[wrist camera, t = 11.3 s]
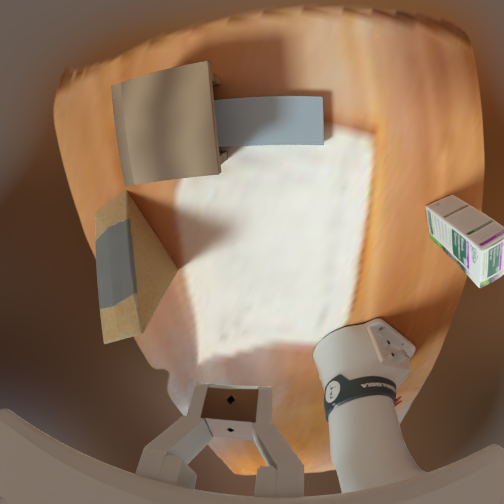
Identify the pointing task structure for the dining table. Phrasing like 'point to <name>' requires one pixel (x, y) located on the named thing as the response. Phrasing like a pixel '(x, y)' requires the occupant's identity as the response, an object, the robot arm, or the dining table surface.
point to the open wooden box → (167, 125)
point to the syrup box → (468, 238)
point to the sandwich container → (128, 269)
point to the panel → (269, 121)
